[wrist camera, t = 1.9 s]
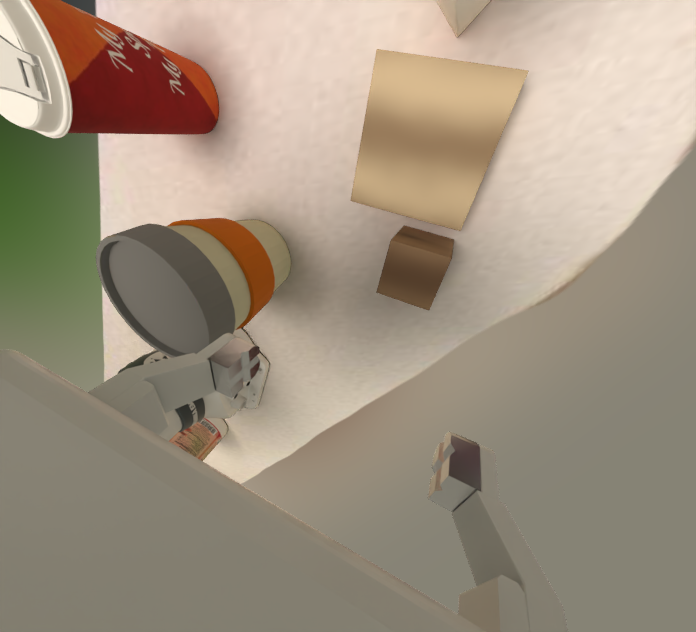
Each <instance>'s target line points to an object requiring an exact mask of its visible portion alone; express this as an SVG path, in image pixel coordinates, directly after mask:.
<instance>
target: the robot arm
mask: <svg viewBox="0 0 696 632" xmlns="http://www.w3.org/2000/svg"><path fill="white" fill-rule="evenodd" d="M268 369H269V362H268V361H267V360H266V358H265V357H264V356H263V355H262V354H261V353H260V351H259V347H258V346H256V345H254V344H253V343H252V341H251V340H250V338H249V337H248V336H247V334H246V333H245V332H244V331H243V330H242V329H241V328H240V329H237V330H235V331H234V333H233V334H231V333H226V334H224V335H222V336H221V337H219V338H218V339H217V340H215V341H214V342H212V343H211V344H210V345H208V346H207V347H205V348H204V349H203V350H201V351H200V352H198V353H197V354H195V353H190V354H186V355H182V356H178V357H174V358H171V357H169V356H167V355H165V354H163V353H161V352H160V351H158V350H156V349H154V350H153V351H152V352H151V353H149V354H146V355H143V356H142V357H140V358H138V359H137V360H135V361H133V362H131V363H129V364H128V365H127V366H126V367H124V368H123V369H121V370H120V371H119V372H118V374H117V375H115V376H114V377H112V378H111V379H109V380H107V381H106V382H104V383H102V384H101V385H99V386H97V387H96V388H94V389H93V390H91V391H89V392H88V393H87V392H85V391H84V390H82V389H80V388H79V387H77V386H75V385H74V384H72V383H70V382H69V381H67V380H65V379H64V378H62V377H60V376H59V375H57V374H55V373H53V372H52V371H50V370H49V369H47V368H45V367H43V366H42V365H40V364H38V363H37V362H35V361H33V360H32V359H30V358H29V357H27V356H25V355H24V354H22V353H20V352H17V351H14V350H0V632H568V628H567V624H566V619H565V614H564V609H563V606H562V604H561V602H560V600H559V599H558V597H557V595H556V593H555V592H554V590H553V588H552V586H551V585H550V583H549V581H548V580H547V578H546V576H545V574H544V572H543V570H542V569H541V567H540V565H539V563H538V562H537V560H536V558H535V556H534V555H533V553H532V551H531V549H530V548H529V546H528V544H527V543H526V541H525V539H524V537H523V535H522V534H521V532H520V530H519V528H518V527H517V525H516V523H515V521H514V520H513V518H512V516H511V514H510V513H509V511H508V509H507V507H506V505H505V504H504V503H502V502H500V500H499V489H498V479H497V467H496V457H495V453H494V451H493V450H491V449H488V448H486V447H484V446H482V445H479V444H477V443H476V442H473V441H471V440H468V439H466V438H464V437H462V436H459V435H457V434H455V433H452V432H450V431H449V432H448V433H447V434H446V435H445V438H444V442H442V443H440V444H439V445H438V447H437V448H436V451H435V454H434V457H433V462H432V469H433V471H434V476H433V477H432V478H431V479H430V486H429V494H428V499H429V500H431V501H432V502H434V503H436V504H438V505H440V506H442V507H443V508H445V509H447V510H449V511H451V512H453V513H452V516H453V519H454V522H455V525H456V527H457V530H458V533H459V536H460V539H461V542H462V545H463V548H464V551H465V554H466V557H467V559H468V562H469V565H470V568H471V571H472V574H473V577H474V580H475V583H476V587H474V588H472V589H469V590H467V591H465V592H463V593H461V594H460V595H459V610H458V612H459V613H458V614H457V613H455V612H454V611H452V610H450V609H448V608H447V607H445V606H444V605H442V604H440V603H439V602H436V601H435V600H433V599H432V598H430V597H429V596H427V595H425V594H424V593H422V592H420V591H418V590H417V589H415V588H413V587H412V586H410V585H408V584H407V583H405V582H403V581H402V580H400V579H398V578H397V577H395V576H393V575H392V574H390V573H388V572H387V571H385V570H383V569H382V568H380V567H378V566H377V565H375V564H373V563H372V562H370V561H368V560H367V559H365V558H363V557H362V556H360V555H358V554H357V553H355V552H353V551H352V550H350V549H348V548H347V547H345V546H343V545H341V544H340V543H338V542H336V541H335V540H333V539H331V538H330V537H328V536H326V535H325V534H323V533H321V532H320V531H318V530H316V529H315V528H313V527H311V526H310V525H308V524H306V523H305V522H303V521H301V520H300V519H298V518H296V517H295V516H293V515H291V514H290V513H288V512H286V511H285V510H283V509H281V508H280V507H278V506H276V505H274V504H273V503H271V502H269V501H268V500H266V499H264V498H263V497H261V496H260V495H258V494H256V493H255V492H253V491H251V490H249V489H248V488H246V487H244V486H243V485H241V484H239V483H238V482H236V481H234V480H233V479H231V478H229V477H228V476H226V475H224V474H223V473H221V472H219V471H218V470H216V469H214V468H213V467H211V466H209V465H208V464H206V463H204V462H203V461H201V460H199V459H198V458H196V457H194V456H193V455H191V454H189V453H188V452H186V451H184V450H183V449H181V448H179V447H178V446H176V445H174V444H173V443H171V442H169V441H170V440H171V439H172V438H173V437H174V436H175V435H176V434H177V433H178V432H179V433H181V434H183V435H185V436H187V434H186V433H184V432H183V431H184V430H185V431H190V432H191V431H192V430H191V429H190V428H189V427H191V426H193V425H194V424H196V423H197V422H198V421H200V420H202V419H203V418H220V419H226V418H229V417H231V416H232V415H234V414H235V413H236V412H237V411H240V410H242V409H243V408H244V407H245V408H250V409H255V408H256V407H257V406H258V405H259V402H260V398H261V395H262V391H263V387H264V384H265V380H266V377H267V373H268Z"/></svg>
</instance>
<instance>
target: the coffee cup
mask: <svg viewBox="0 0 696 632" xmlns="http://www.w3.org/2000/svg"><path fill="white" fill-rule="evenodd" d="M0 114H1V115H2V116H4V117H5V118H6V119H8V120H9V121H11V122H12V123H14V124H16V125H18V126H20V127H23V128H27V129H31V130H35V131H37V132H39V133H41V134H43V135H45V136H47V137H51V138H60V137H63V136H64V135H66V134H67V133H116V134H205V133H208V132H210V131H211V130H213V128H214V127H215V125H216V123H217V120H218V114H219V104H218V97H217V93H216V90H215V87H214V85H213V83H212V81H211V79H210V77H209V75H208V74H207V73H206V71H205V70H204V69H203V68H202V67H200V66H199V65H198V64H196V63H194V62H193V61H191V60H189V59H187V58H185V57H183V56H181V55H178V54H176V53H174V52H172V51H170V50H168V49H166V48H163V47H161V46H159V45H157V44H155V43H153V42H150V41H148V40H146V39H144V38H142V37H140V36H137V35H135V34H133V33H131V32H129V31H126V30H124V29H122V28H120V27H118V26H115V25H113V24H111V23H109V22H107V21H104V20H102V19H100V18H98V17H96V16H93V15H91V14H89V13H87V12H85V11H82V10H80V9H78V8H76V7H73V6H71V5H69V4H67V3H65V2H63V1H60V0H0Z"/></svg>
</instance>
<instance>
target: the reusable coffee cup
mask: <svg viewBox="0 0 696 632" xmlns="http://www.w3.org/2000/svg"><path fill="white" fill-rule="evenodd" d="M96 263H97V270H98V273H99V277H100V280H101V282H102V285H103V287H104V289H105V291H106V293H107V295H108V297H109V299H110V301H111V302H112V304H113V305H114V307H115V308H116V310H117V311H118V313H119V314H120V315H121V316H122V318H123V319H124V320H125V322H126V323H127V324H128V325H129V326H130V327H131V328H132V329H133V330H134V331H135V332H136V333H137V334H138V335H139V336H140V337H141V338H142V339H143V340H144V341H146V342H147V343H148V344H149V345H151V346H152V347H153V348H155V349H156V350H158V351H160V352H161V353H163V354H165V355H167V356H169V357H171V358H174V357H178V356H182V355H186V354H190V353H195V354H197V353H198V352H200V351H201V350H203V349H204V348H205V347H207V346H208V345H210V344H211V343H212V342H214V341H215V340H217V339H218V338H219V337H221V336H222V335H224V334H226V333H231V334H233V333H234V331H235V330H237V329H240V328H242V327H244V326H245V325H246V324H247V323H248V322H249V321H250V320H251V319H252V318H253V317H254V316H255V315H256V314H257V313H258V312H259V311H260V310H261V309H262V308H263V307H264V306H265V305H266V304H267V303H268V302H269V300H270V299H271V297H272V295H273V292H274V291H275V290H276V289H277V288H278V287H279V286H280V285H281V284H282V283H283V282H284V281H285V280H286V279H287V277H288V275H289V273H290V269H291V258H290V253H289V250H288V247H287V245H286V243H285V241H284V239H283V238H282V236H281V235H280V234H279V233H278V232H277V231H276V230H275V229H274V228H273V227H272V226H270V225H269V224H267V223H265V222H263V221H260V220H241V221H232V220H229V219H224V218H212V219H196V220H181V221H176V222H173V223H171V224H170V225H168V226H165V227H164V226H161V225H157V224H146V225H142V226H138V227H135V228H132V229H129V230H126V231H123V232H120V233H117V234H114V235H111V236H108V237H106V238H105V239H103V240H102V241H101V242H100V244H99V246H98V248H97V253H96Z"/></svg>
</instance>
